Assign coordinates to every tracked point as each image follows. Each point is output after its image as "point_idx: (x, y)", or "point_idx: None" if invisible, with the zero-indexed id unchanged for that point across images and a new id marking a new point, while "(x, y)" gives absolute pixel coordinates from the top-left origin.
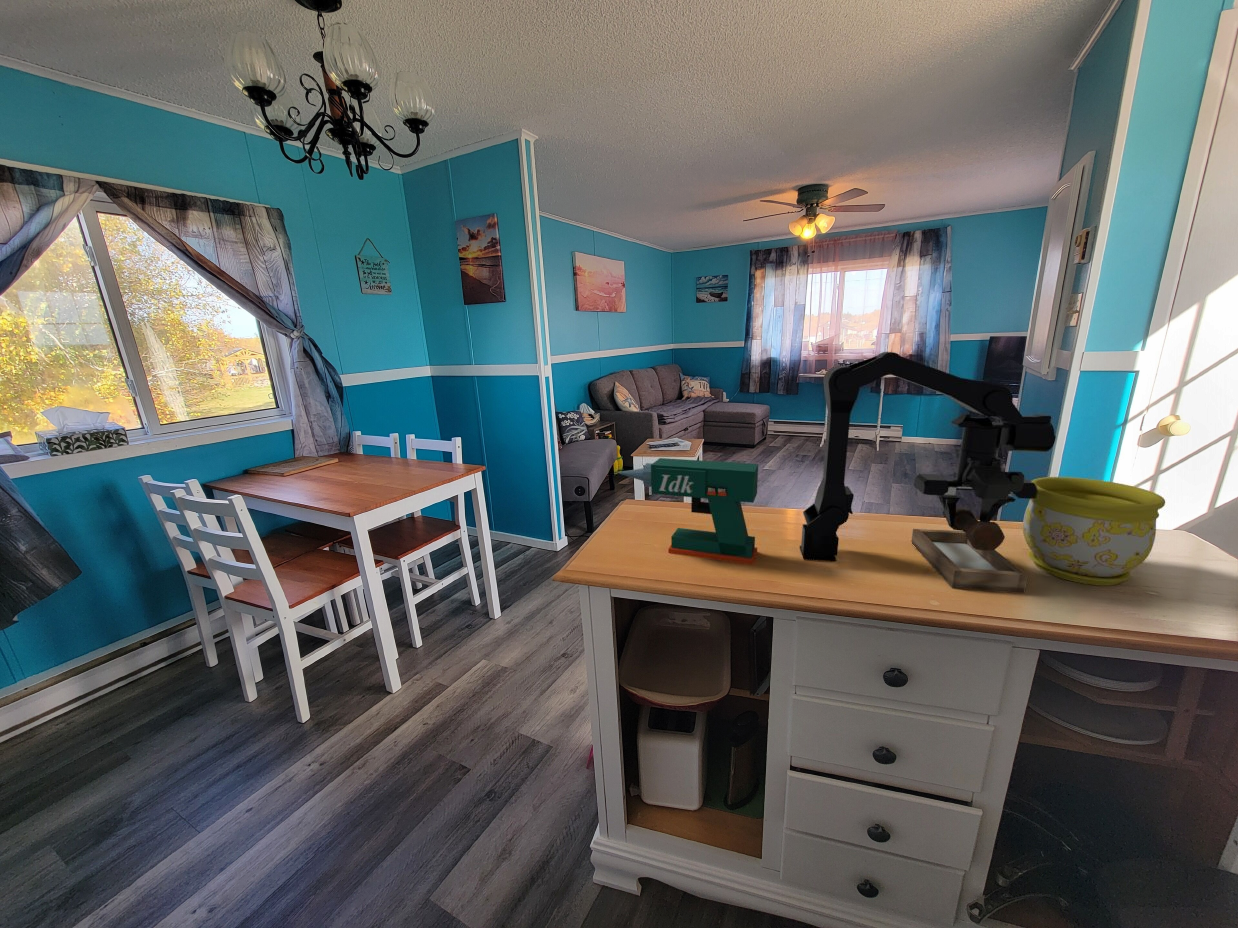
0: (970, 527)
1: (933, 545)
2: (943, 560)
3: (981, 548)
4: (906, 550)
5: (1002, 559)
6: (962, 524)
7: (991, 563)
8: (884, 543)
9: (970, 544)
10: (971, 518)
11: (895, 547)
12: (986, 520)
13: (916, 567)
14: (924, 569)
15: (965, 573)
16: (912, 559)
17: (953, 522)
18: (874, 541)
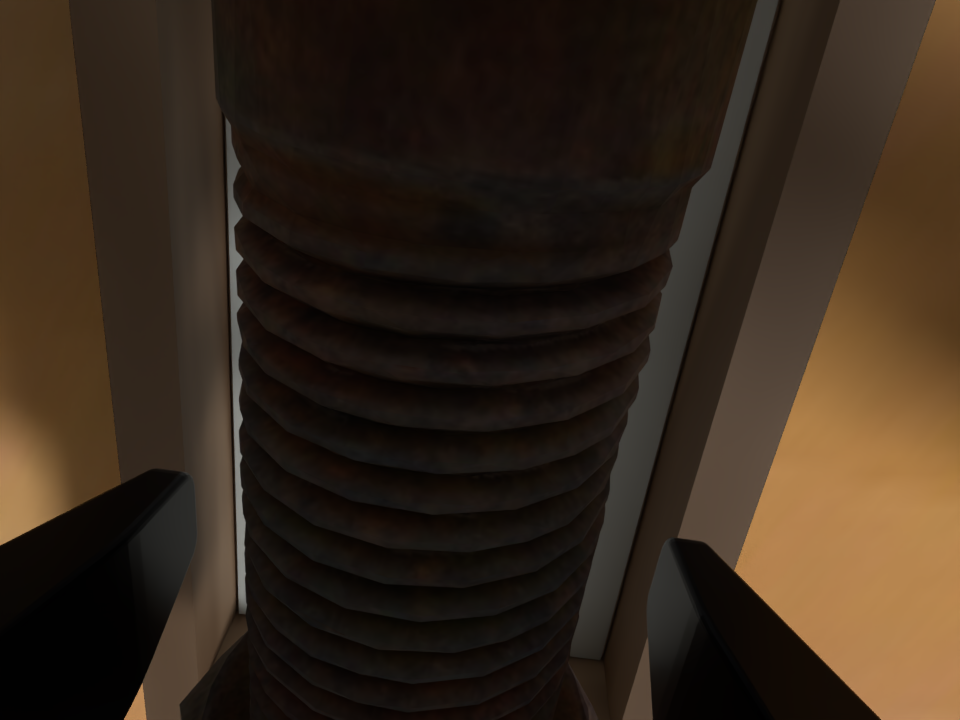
0: (707, 158)
1: (732, 449)
2: (915, 32)
3: None
4: (762, 557)
5: (135, 54)
6: (594, 504)
7: (218, 198)
8: (855, 671)
9: (226, 573)
10: (412, 599)
11: (817, 608)
12: (65, 560)
13: (932, 230)
14: (884, 185)
15: None
16: (839, 396)
17: (713, 595)
18: (912, 703)
